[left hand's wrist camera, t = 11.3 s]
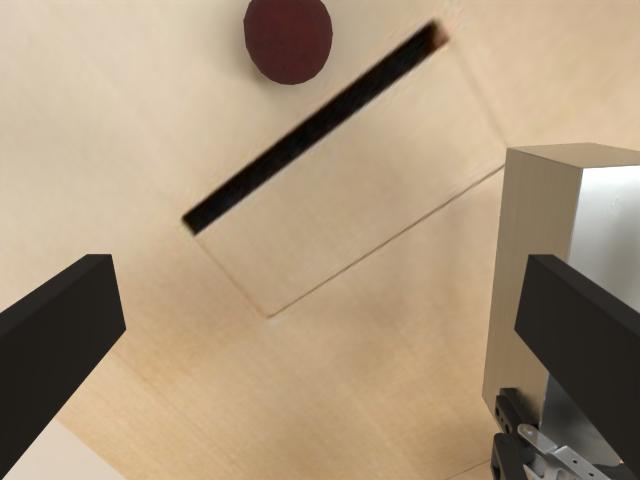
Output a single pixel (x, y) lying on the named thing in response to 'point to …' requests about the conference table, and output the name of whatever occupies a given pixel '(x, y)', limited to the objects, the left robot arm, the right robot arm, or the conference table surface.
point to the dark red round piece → (288, 38)
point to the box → (574, 249)
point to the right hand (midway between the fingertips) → (546, 395)
